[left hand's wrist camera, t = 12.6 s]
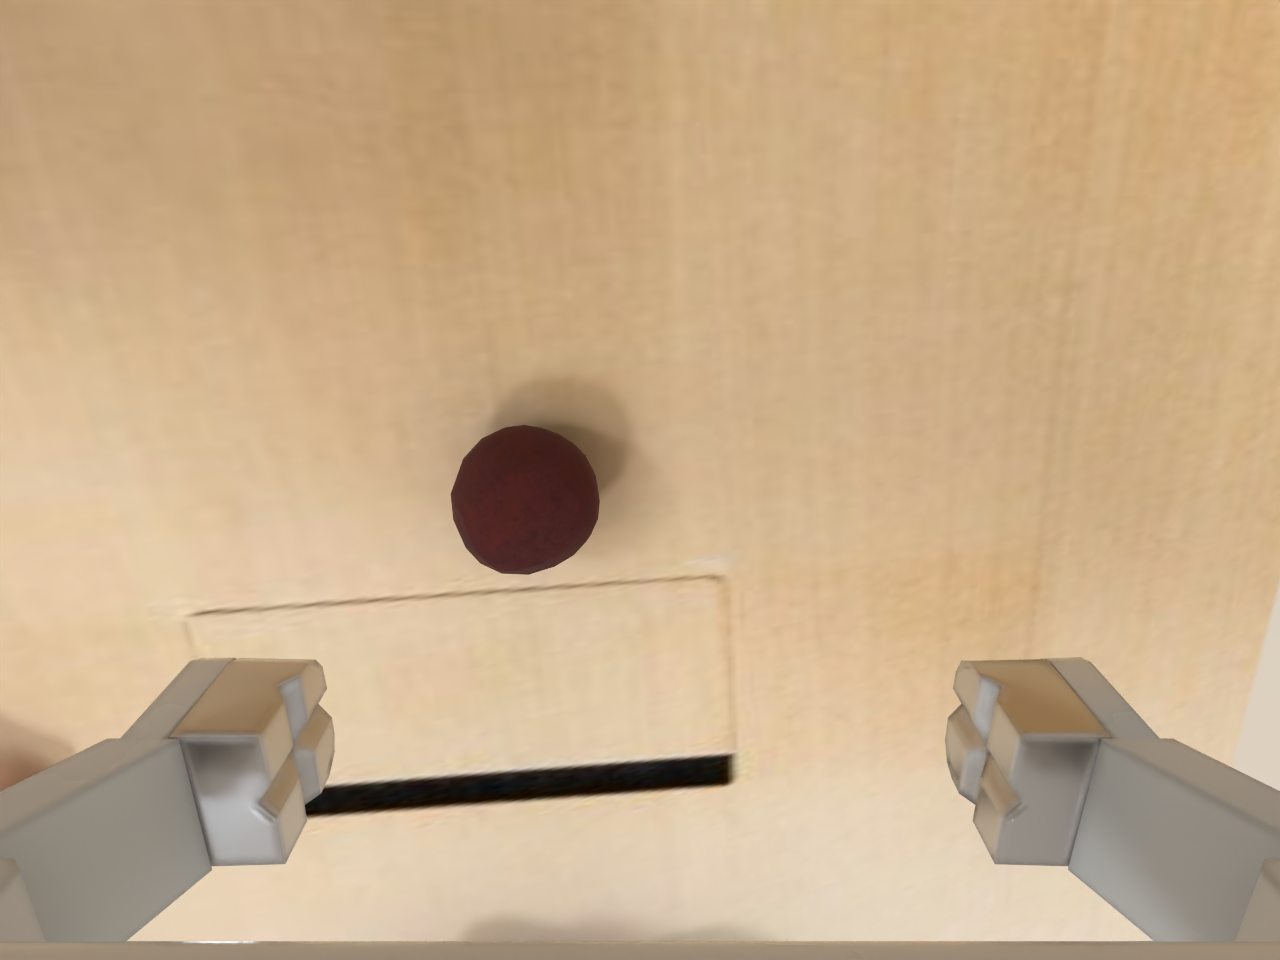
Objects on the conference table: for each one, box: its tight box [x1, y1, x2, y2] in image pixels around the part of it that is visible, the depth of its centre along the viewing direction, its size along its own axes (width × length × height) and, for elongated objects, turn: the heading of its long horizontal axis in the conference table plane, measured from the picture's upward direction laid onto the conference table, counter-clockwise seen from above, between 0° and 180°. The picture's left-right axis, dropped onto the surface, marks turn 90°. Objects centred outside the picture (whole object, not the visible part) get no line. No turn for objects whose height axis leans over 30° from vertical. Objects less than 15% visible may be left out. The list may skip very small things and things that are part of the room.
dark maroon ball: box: [451, 425, 600, 574], centre depth 42 cm, size 7×8×7 cm
